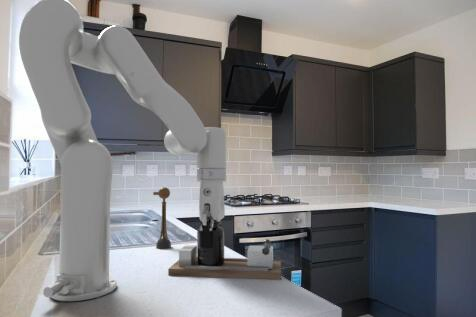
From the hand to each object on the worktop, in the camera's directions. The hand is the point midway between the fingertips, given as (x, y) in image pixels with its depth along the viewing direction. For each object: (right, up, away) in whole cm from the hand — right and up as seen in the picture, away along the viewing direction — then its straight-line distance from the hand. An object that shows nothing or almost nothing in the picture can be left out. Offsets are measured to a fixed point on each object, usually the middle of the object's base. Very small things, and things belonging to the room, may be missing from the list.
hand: (211, 243), depth 81 cm
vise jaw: (+12, -5, -2) cm, 13 cm away
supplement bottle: (0, -6, 0) cm, 6 cm away
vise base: (+3, -7, -1) cm, 8 cm away
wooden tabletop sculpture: (-19, -8, +25) cm, 32 cm away
